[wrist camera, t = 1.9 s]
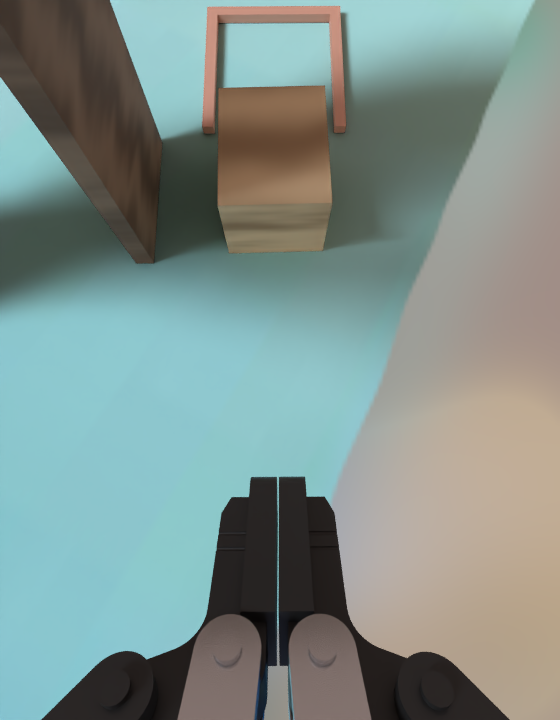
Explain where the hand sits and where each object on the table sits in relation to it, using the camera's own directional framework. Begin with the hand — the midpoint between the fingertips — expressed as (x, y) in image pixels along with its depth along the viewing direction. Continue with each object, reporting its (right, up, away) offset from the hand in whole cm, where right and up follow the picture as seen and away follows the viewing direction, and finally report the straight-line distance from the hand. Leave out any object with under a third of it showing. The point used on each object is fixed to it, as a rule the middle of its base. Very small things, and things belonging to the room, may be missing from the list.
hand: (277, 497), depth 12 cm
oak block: (0, +18, +25) cm, 31 cm away
